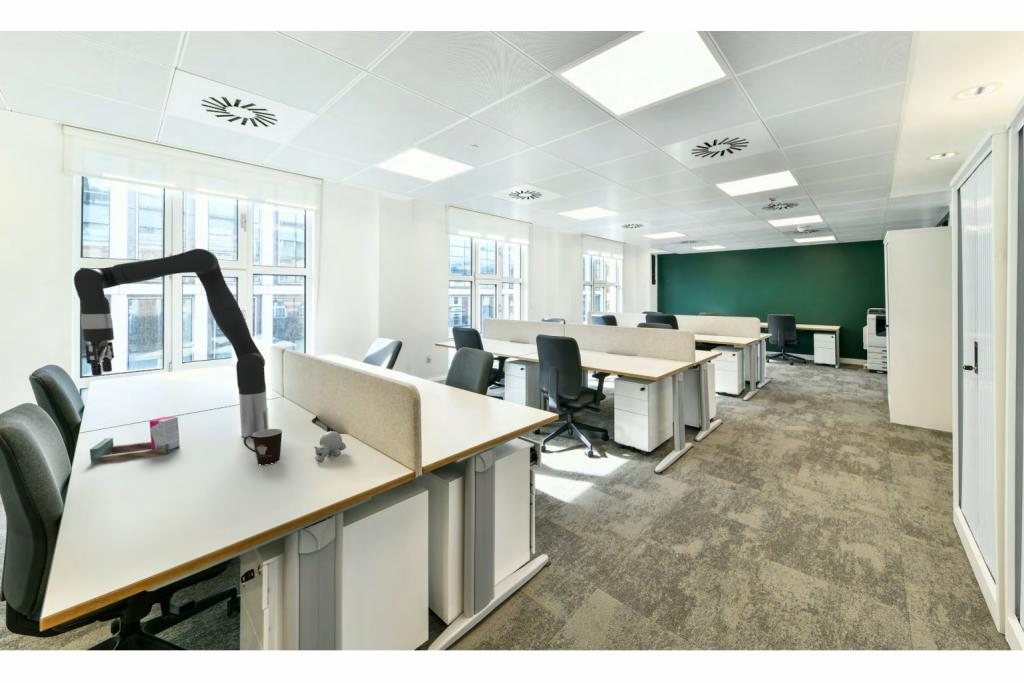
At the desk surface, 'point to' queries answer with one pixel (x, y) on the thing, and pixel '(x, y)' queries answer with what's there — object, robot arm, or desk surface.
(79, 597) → the desk surface
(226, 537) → the desk surface
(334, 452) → the chubby cartoon animal
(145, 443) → the guide lane
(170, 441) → the supplement box
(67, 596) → the desk surface
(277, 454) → the coffee mug
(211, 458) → the desk surface
